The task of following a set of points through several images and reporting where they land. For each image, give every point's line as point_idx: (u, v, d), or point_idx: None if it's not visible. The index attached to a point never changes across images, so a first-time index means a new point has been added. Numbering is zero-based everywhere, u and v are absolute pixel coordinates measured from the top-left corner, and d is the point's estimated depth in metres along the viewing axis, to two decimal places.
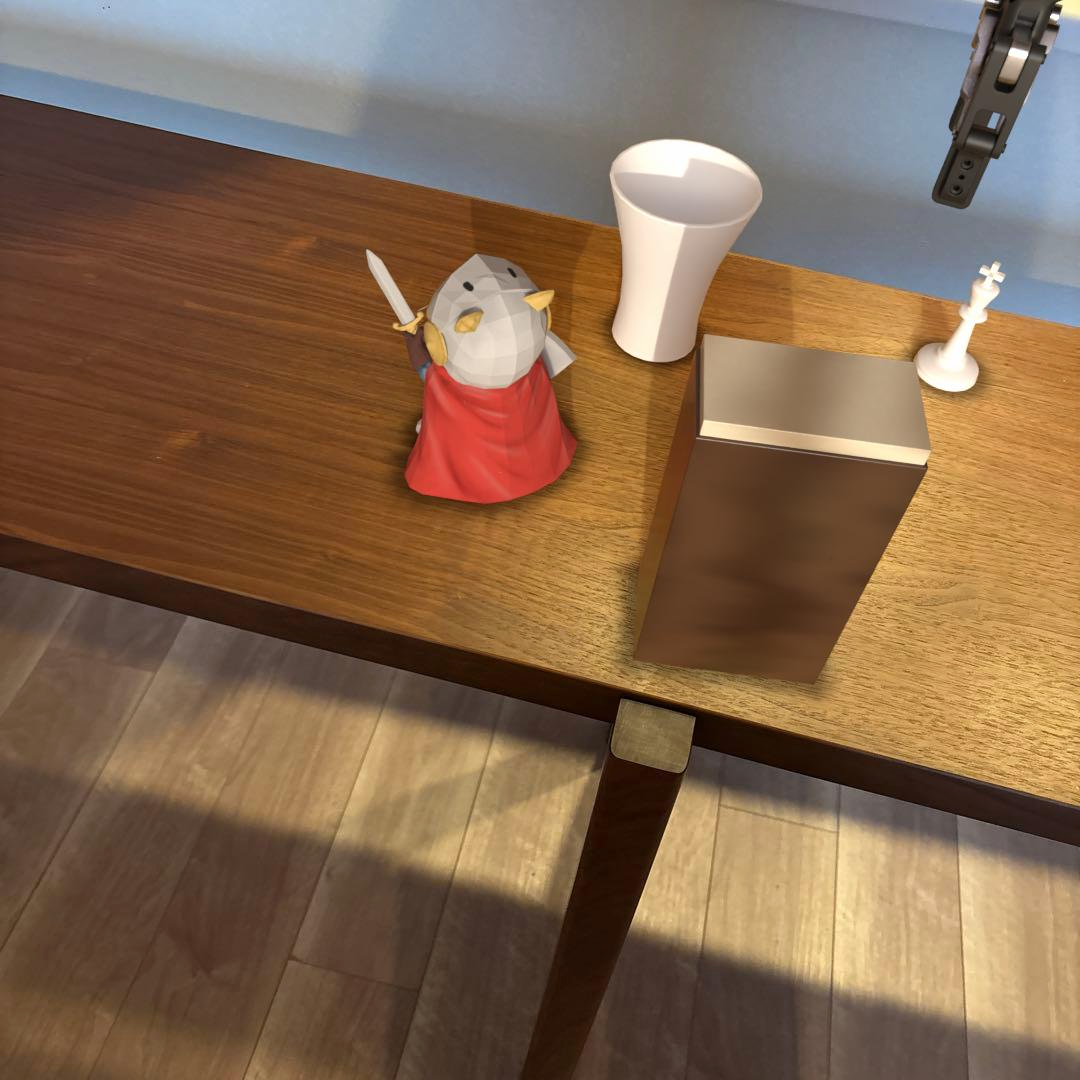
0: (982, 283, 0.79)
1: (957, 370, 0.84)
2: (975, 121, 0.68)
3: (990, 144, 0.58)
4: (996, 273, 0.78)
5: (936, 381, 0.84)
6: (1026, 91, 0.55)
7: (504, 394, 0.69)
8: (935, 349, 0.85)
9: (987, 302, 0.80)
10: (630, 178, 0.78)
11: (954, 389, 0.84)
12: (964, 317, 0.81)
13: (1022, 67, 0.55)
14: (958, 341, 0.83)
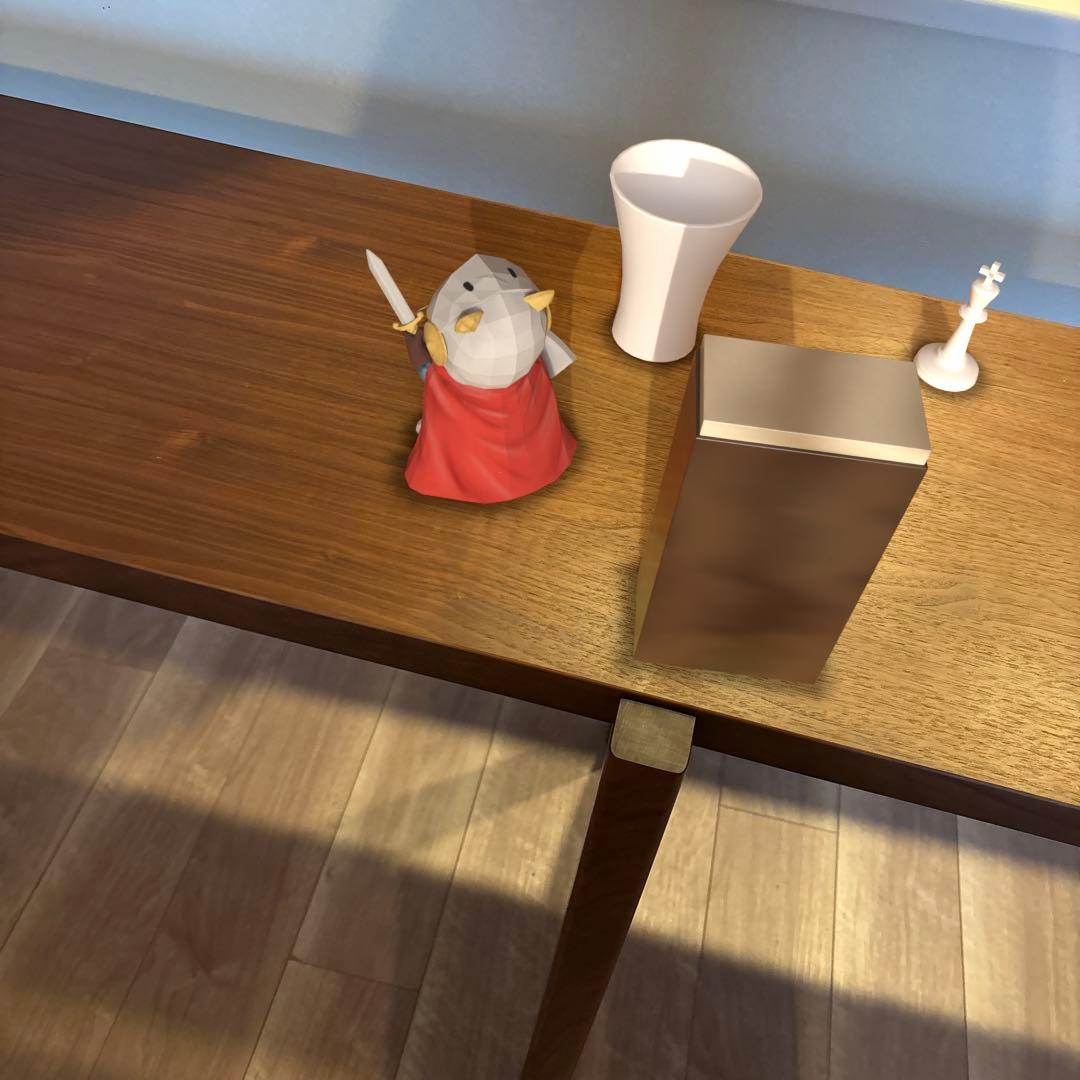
0: (982, 283, 0.79)
1: (957, 370, 0.84)
2: None
3: None
4: (996, 273, 0.78)
5: (936, 381, 0.84)
6: None
7: (504, 394, 0.69)
8: (935, 349, 0.85)
9: (987, 302, 0.80)
10: (630, 178, 0.78)
11: (954, 389, 0.84)
12: (964, 317, 0.81)
13: None
14: (958, 341, 0.83)
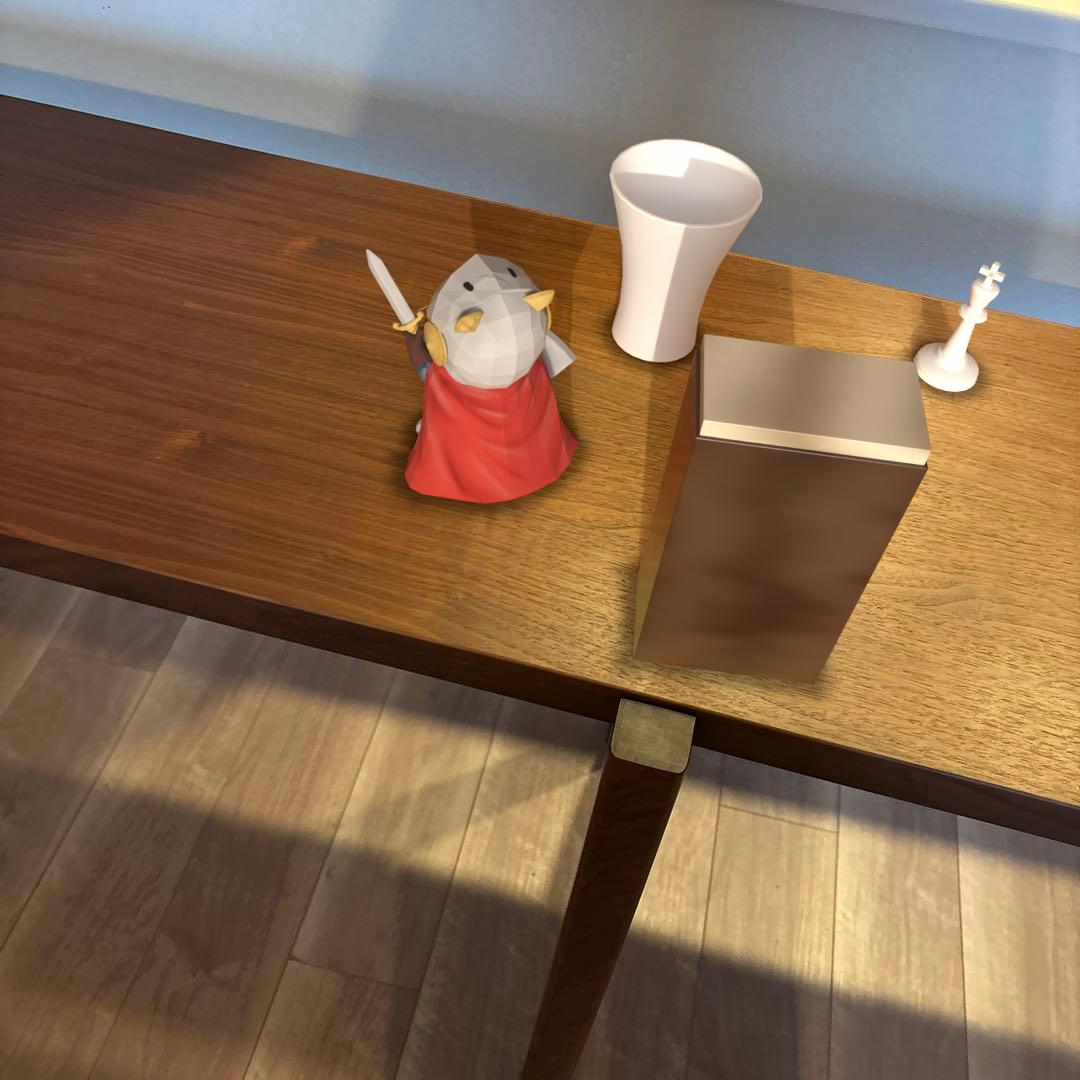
0: (982, 283, 0.79)
1: (957, 370, 0.84)
2: None
3: None
4: (996, 273, 0.78)
5: (936, 381, 0.84)
6: None
7: (504, 394, 0.69)
8: (935, 349, 0.85)
9: (987, 302, 0.80)
10: (630, 178, 0.78)
11: (954, 389, 0.84)
12: (964, 317, 0.81)
13: None
14: (958, 341, 0.83)
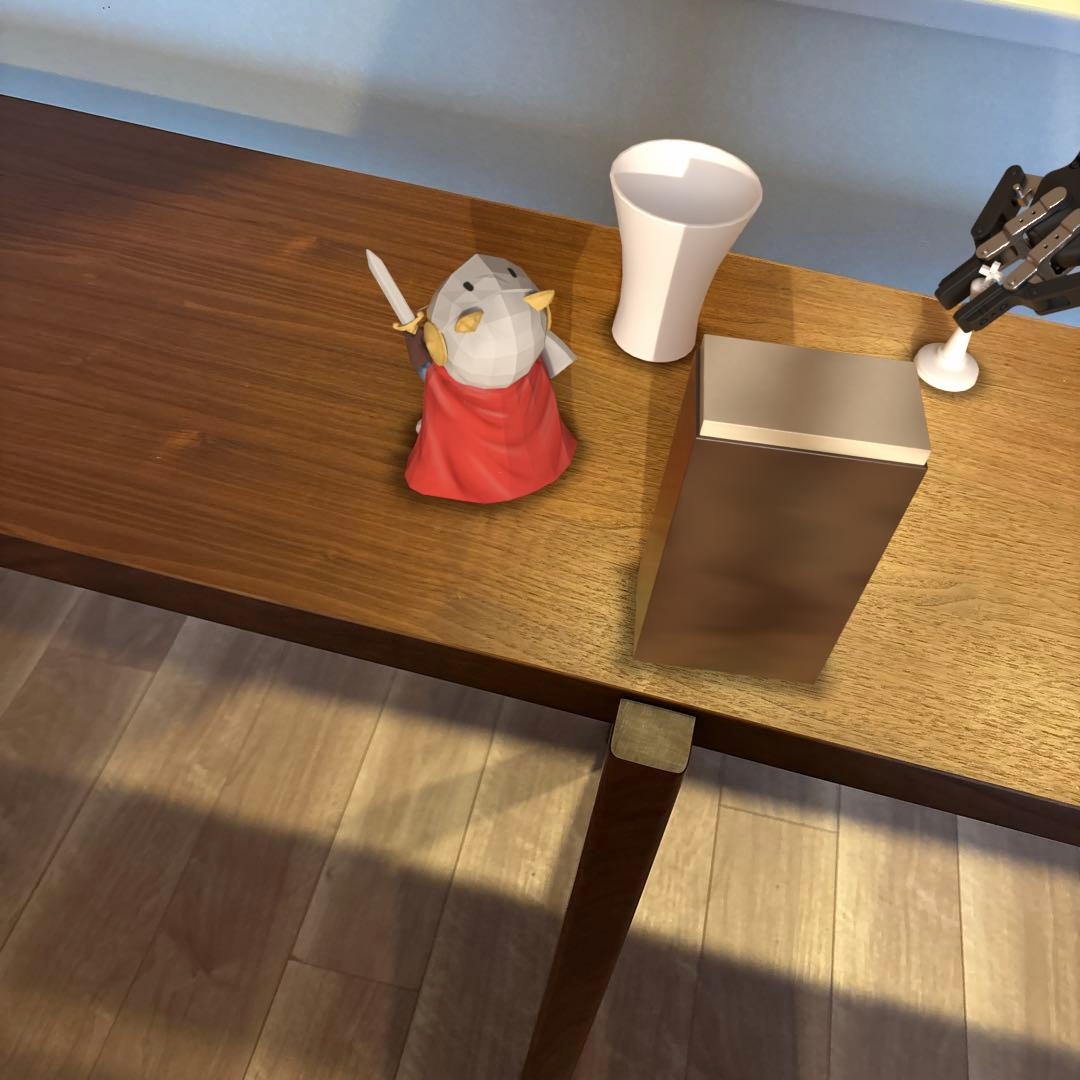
0: (982, 283, 0.79)
1: (957, 370, 0.84)
2: None
3: None
4: (996, 273, 0.78)
5: (936, 381, 0.84)
6: (995, 189, 0.80)
7: (504, 394, 0.69)
8: (935, 349, 0.85)
9: None
10: (630, 178, 0.78)
11: (954, 389, 0.84)
12: None
13: None
14: (958, 341, 0.83)
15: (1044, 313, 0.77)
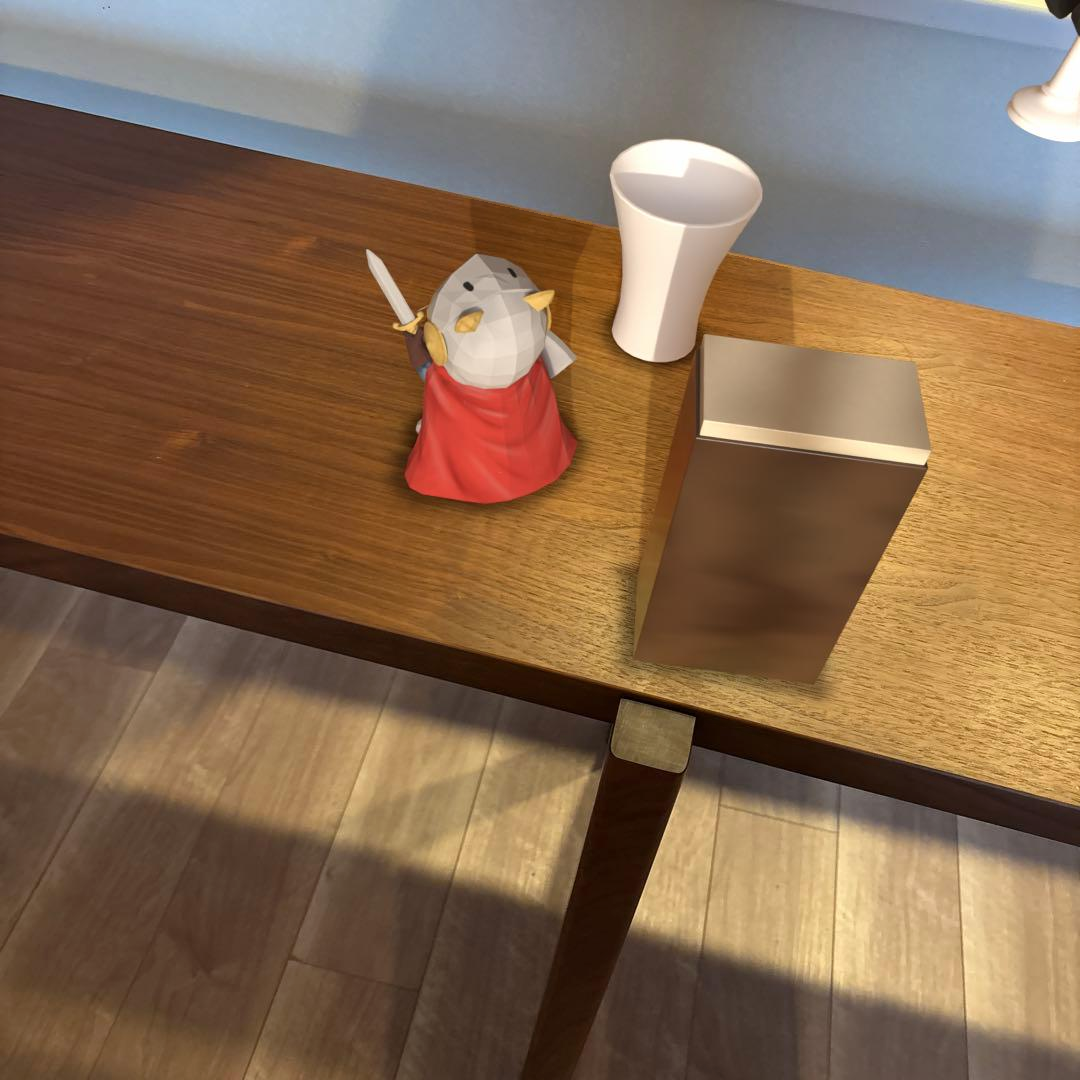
0: None
1: (1070, 112, 0.61)
2: None
3: None
4: None
5: (1040, 127, 0.61)
6: None
7: (504, 394, 0.69)
8: (1036, 89, 0.62)
9: None
10: (630, 178, 0.78)
11: (1065, 138, 0.61)
12: None
13: None
14: (1073, 66, 0.60)
15: None
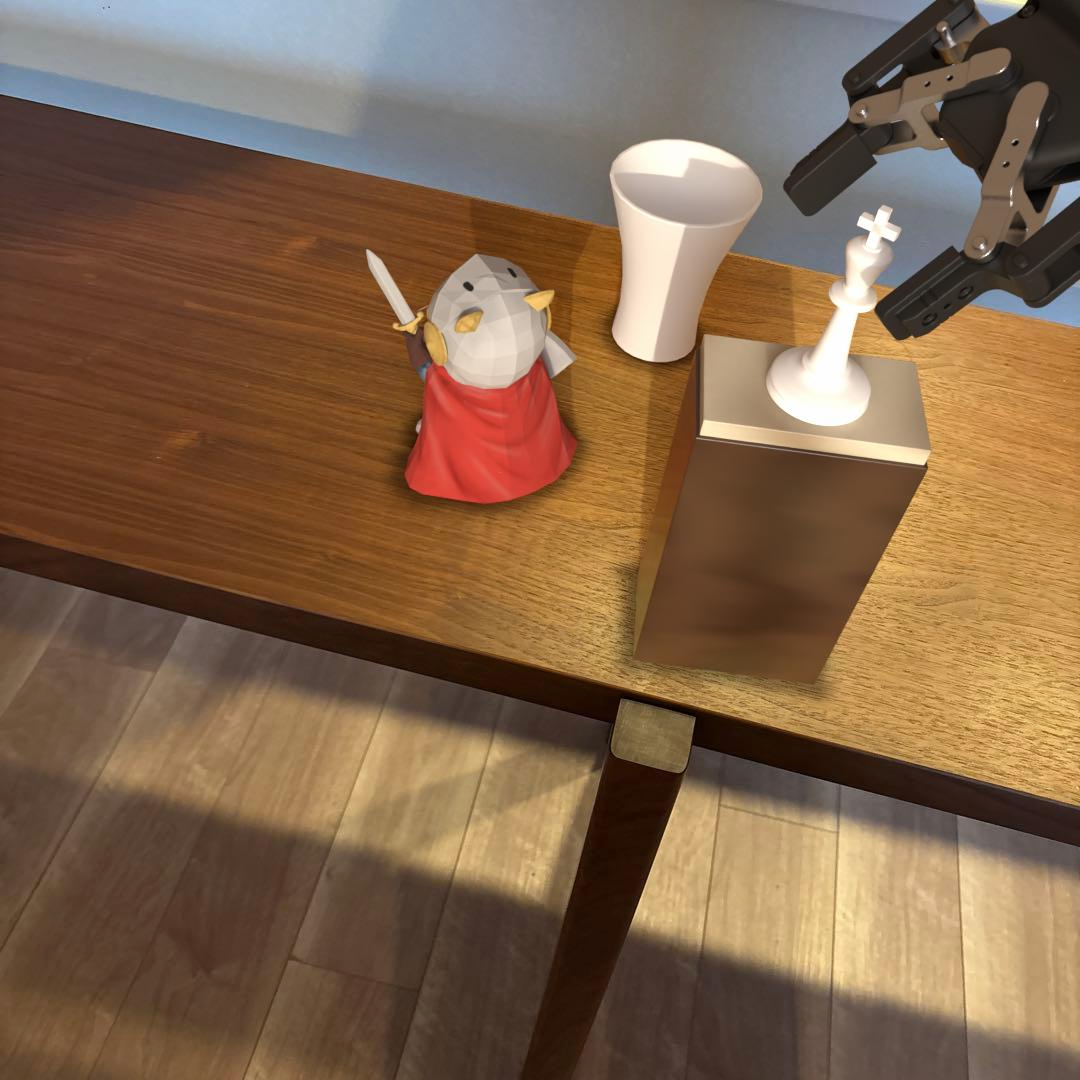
0: (863, 244, 0.46)
1: (833, 391, 0.51)
2: None
3: None
4: (885, 226, 0.45)
5: (798, 409, 0.51)
6: (917, 17, 0.47)
7: (504, 394, 0.69)
8: (800, 356, 0.52)
9: (873, 277, 0.47)
10: (630, 178, 0.78)
11: (828, 422, 0.51)
12: (837, 303, 0.48)
13: None
14: (832, 343, 0.50)
15: (1050, 298, 0.41)
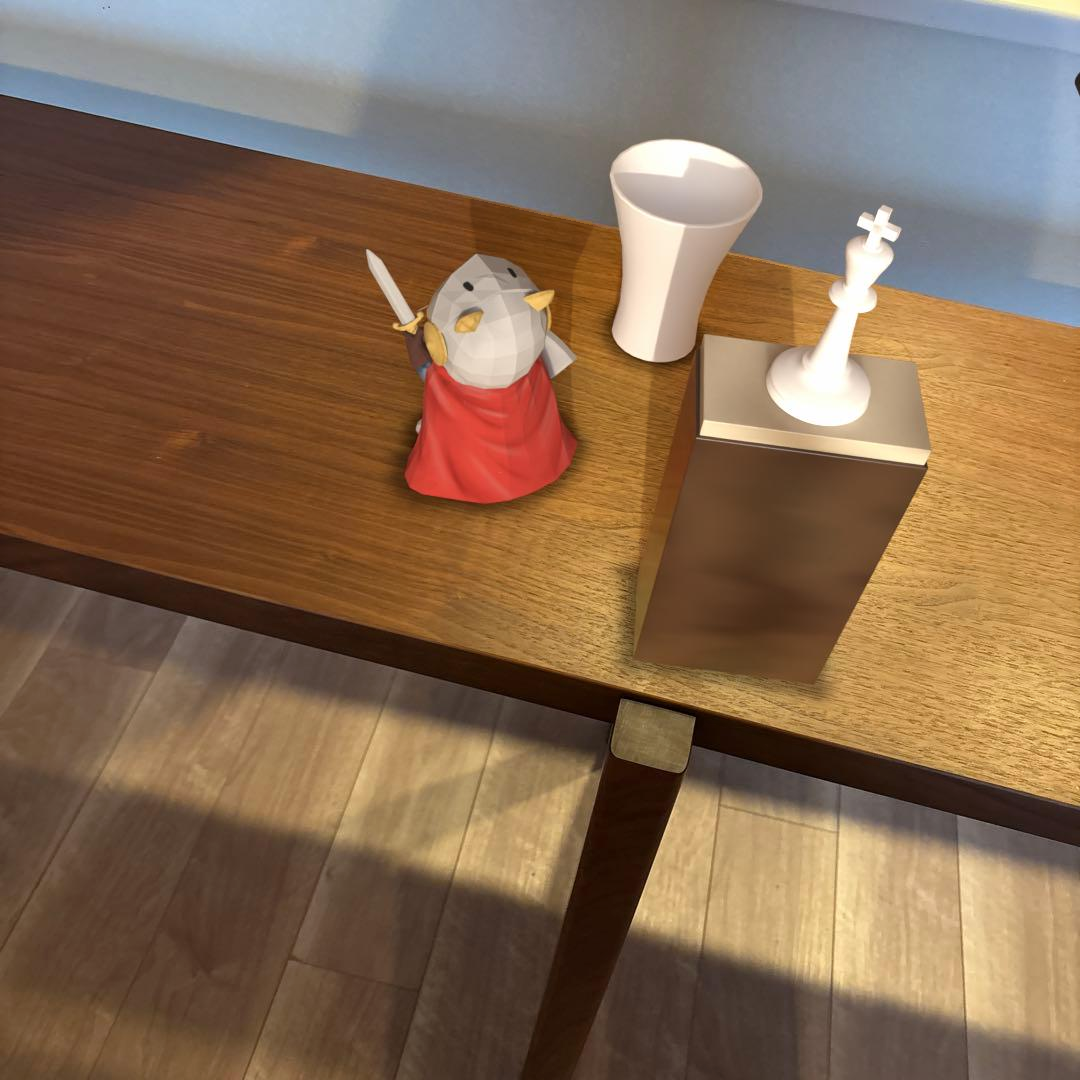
0: (863, 244, 0.46)
1: (833, 391, 0.51)
2: None
3: None
4: (885, 226, 0.45)
5: (798, 409, 0.51)
6: None
7: (504, 394, 0.69)
8: (800, 356, 0.52)
9: (873, 277, 0.47)
10: (630, 178, 0.78)
11: (828, 422, 0.51)
12: (837, 303, 0.48)
13: None
14: (832, 343, 0.50)
15: None
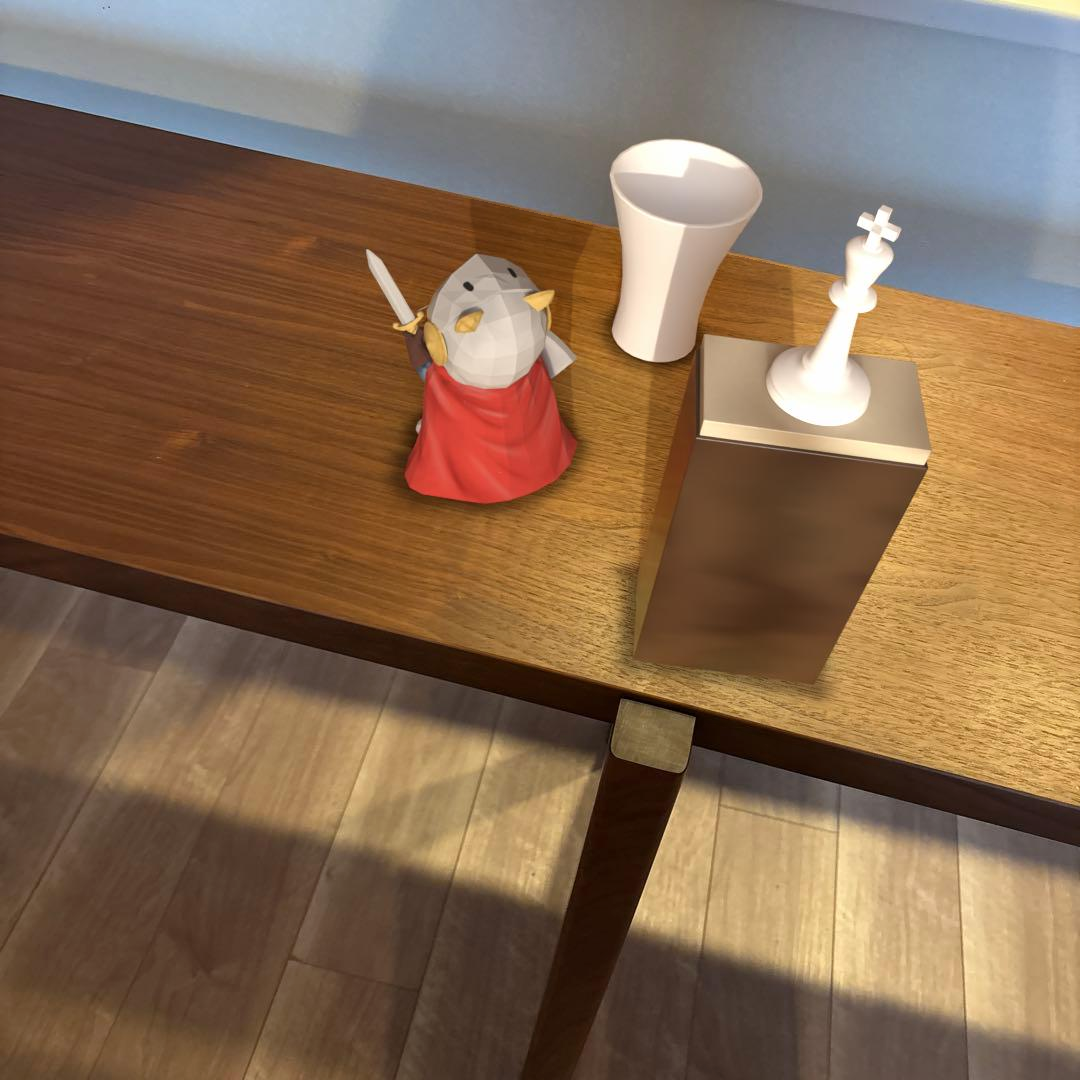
0: (863, 244, 0.46)
1: (833, 391, 0.51)
2: None
3: None
4: (885, 226, 0.45)
5: (798, 409, 0.51)
6: None
7: (504, 394, 0.69)
8: (800, 356, 0.52)
9: (873, 277, 0.47)
10: (630, 178, 0.78)
11: (828, 422, 0.51)
12: (837, 303, 0.48)
13: None
14: (832, 343, 0.50)
15: None
